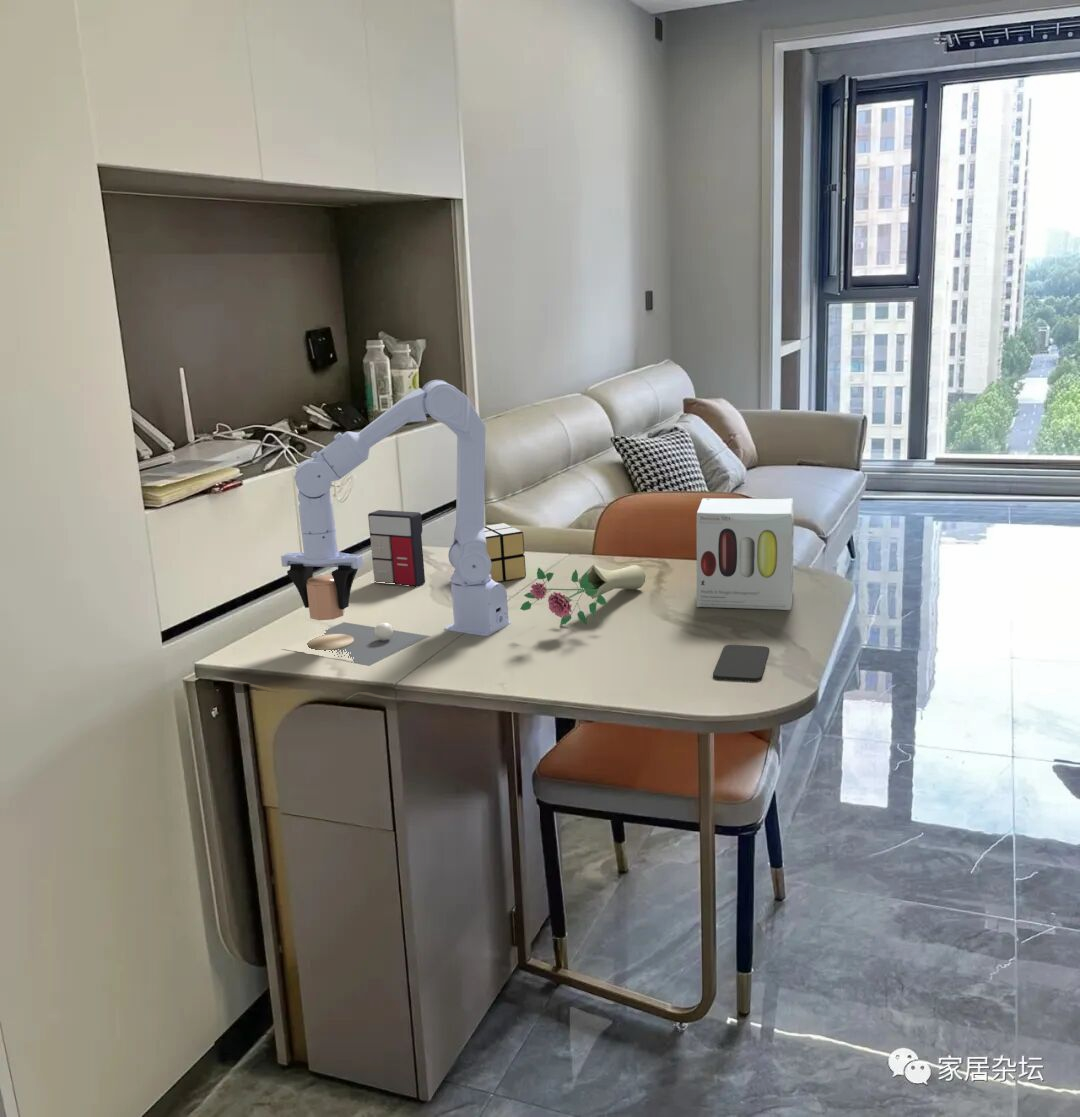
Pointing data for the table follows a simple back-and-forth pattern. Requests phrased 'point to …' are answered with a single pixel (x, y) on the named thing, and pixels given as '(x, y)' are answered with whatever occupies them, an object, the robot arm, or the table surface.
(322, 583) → the cup
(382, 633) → the ball
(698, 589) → the supplement box
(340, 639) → the coaster
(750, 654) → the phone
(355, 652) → the placemat
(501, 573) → the puzzle cube
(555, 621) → the table surface
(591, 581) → the flower vase
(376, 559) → the grey and red box
